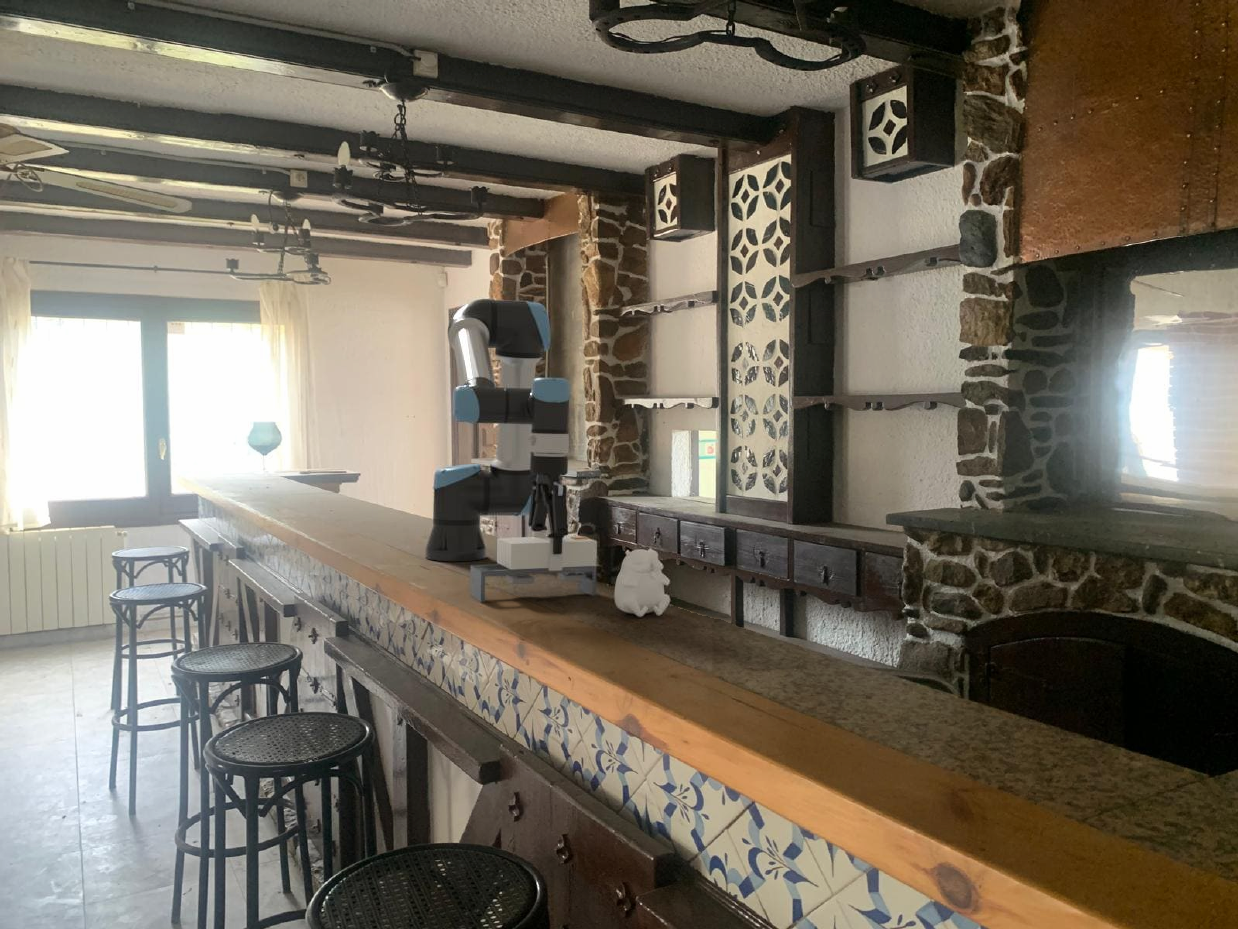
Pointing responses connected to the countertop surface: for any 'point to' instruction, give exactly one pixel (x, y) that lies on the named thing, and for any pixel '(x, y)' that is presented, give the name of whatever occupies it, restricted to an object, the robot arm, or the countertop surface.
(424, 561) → the countertop surface
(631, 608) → the figurine
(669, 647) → the countertop surface
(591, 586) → the rail
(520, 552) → the white rectangular block
